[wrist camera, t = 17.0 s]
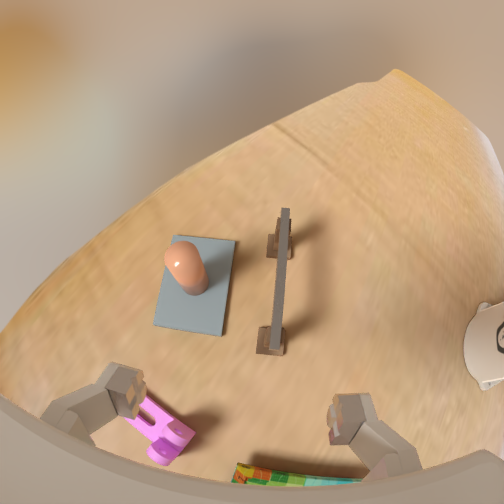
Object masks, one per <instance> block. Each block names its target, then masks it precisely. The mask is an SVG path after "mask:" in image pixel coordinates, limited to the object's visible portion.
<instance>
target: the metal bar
mask: <svg viewBox="0 0 504 504" xmlns="http://www.w3.org/2000/svg"><path fill="white" fill-rule="evenodd" d="M289 216H290V208H282V209H281V218H280V231H279V244H278V256H277V268H276V280H275V291H274V302H273V313H272V323H271V333H270V343H269V350H275V351H279V349H280V338H281V327H282V316H283V304H284V292H285V279H286V265H287V250H288V233H289Z"/></svg>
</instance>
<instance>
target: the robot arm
mask: <svg viewBox="0 0 504 504" xmlns="http://www.w3.org/2000/svg"><path fill="white" fill-rule="evenodd" d="M464 358H465V363H466V366H467V369H468V371H469V372H470V374H471V375H472V376H473V377H474V378H475V379H476V380H477V381H478V383H479V386H480V388H481V390H482V391H486V390H488V389H490V388H492V387H493V386H495V385H497V384H498V383H500V382H501V381H503V380H504V302H501V303H499V304H496V305H491V304H489V303H486V302H483V303H480V305H479V307H478V310H477V313H476V315H475V316H474V317H473V319H472V320H471V321H470V323H469V325H468V327H467V330H466V333H465V338H464ZM143 377H144V374H143V371H142V370H139V369H135V368H132V367H128V366H125V365H122V364H118V363H115V362H110V363H109V364H108V365H107V367H106V368H105V370H104V371H103V372H102V374H101V375H100V377H99V378H98V380H97V381H96V383H95V384H90V385H88V386H86V387H83V388H81V389H79V390H77V391H74V392H72V393H70V394H67V395H65V396H63V397H61V398H58V399H56V400H53V401H52V402H51V403H50V405H49V406H48V408H47V409H46V410H45V412H44V413H43V415H42V416H41V418H40V419H39V418H37V417H36V416H34V415H32V414H31V413H29V412H27V411H26V410H24V409H23V408H21V407H20V406H18V405H16V404H15V403H13V402H12V401H11V400H9V399H8V398H6V397H5V396H3V395H2V394H1V393H0V504H504V461H503V460H502V459H501V458H499V457H498V456H496V455H495V454H493V453H491V452H489V451H487V450H485V449H482V450H478V451H476V452H473V453H471V454H468V455H466V456H463V457H460V458H458V459H455V460H452V461H449V462H446V463H443V464H440V465H437V466H433V467H430V468H427V469H422V466H421V463H420V460H419V457H418V454H417V451H416V448H415V447H414V446H412V445H411V444H410V443H409V442H407V441H406V440H405V439H404V438H402V437H401V436H400V435H399V434H398V433H396V432H395V431H394V430H393V429H391V428H390V427H389V426H388V425H387V424H385V423H384V422H383V421H382V420H378V417H377V414H376V411H375V408H374V404H373V401H372V398H371V395H370V394H369V393H358V394H357V393H348V394H335V395H334V397H333V404H332V405H330V406H329V409H328V412H327V425H328V426H329V427H330V428H331V430H330V431H329V440H330V445H348V446H349V447H350V448H351V449H352V450H353V452H354V453H355V454H356V455H357V456H358V457H359V459H360V460H361V461H362V462H363V463H364V464H365V466H366V467H367V468H368V469H369V470H370V472H369V473H368V474H367V475H366V476H365V477H364V478H363V479H362V480H361V482H358V483H349V484H339V485H326V486H263V485H249V484H239V483H231V482H223V481H216V480H210V479H204V478H199V477H193V476H188V475H184V474H179V473H175V472H171V471H167V470H163V469H159V468H156V467H152V466H149V465H145V464H142V463H139V462H136V461H133V460H130V459H127V458H124V457H121V456H118V455H115V454H113V453H110V452H107V451H105V450H102V449H100V448H97V447H95V446H96V445H95V443H94V441H93V440H92V438H91V436H90V434H92V433H93V432H95V431H96V430H98V429H99V428H101V427H102V426H104V425H105V424H107V423H108V422H110V421H111V420H113V419H114V418H116V417H117V416H118V415H119V416H122V417H125V418H129V419H132V420H135V419H136V417H137V414H138V412H139V410H140V408H139V404H141V403H143V402H144V399H145V397H146V392H147V387H146V383H145V382H144V381H143V380H142V379H143Z"/></svg>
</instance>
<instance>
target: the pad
mask: <svg viewBox="0 0 504 504" xmlns="http://www.w3.org/2000/svg"><path fill="white" fill-rule="evenodd" d="M178 241H188V242H191V243H193V244H194V245H195V246H196V248H197V249H198V252H199V254H200V257H201V259H202V262H203V265H204V267H205V270H206V272H207V275H208V278H209V286H208V288H207V290H206V291H205V292H204V293H202V294H200V295H197V296H192V295H189V294H187V293H186V292H185V291H184V290H183V289H182V287H181V286H180V285H179V283H178V282H177V280H176V279H175V278H174V276H173V275H172V273H171V272H170V271H169V269H168V268H167V266H165V270H164V275H163V279H162V283H161V288H160V293H159V297H158V302H157V307H156V312H155V317H154V322H153V325H155V326H160V327H165V328H171V329H176V330H182V331H188V332H194V333H201V334H208V335H215V336H222V330H223V323H224V316H225V309H226V302H227V295H228V288H229V282H230V275H231V268H232V262H233V255H234V249H235V241H229V240H219V239H210V238H200V237H190V236H180V235H173V238H172V242H171V245H172V244H174V243H175V242H178Z"/></svg>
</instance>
